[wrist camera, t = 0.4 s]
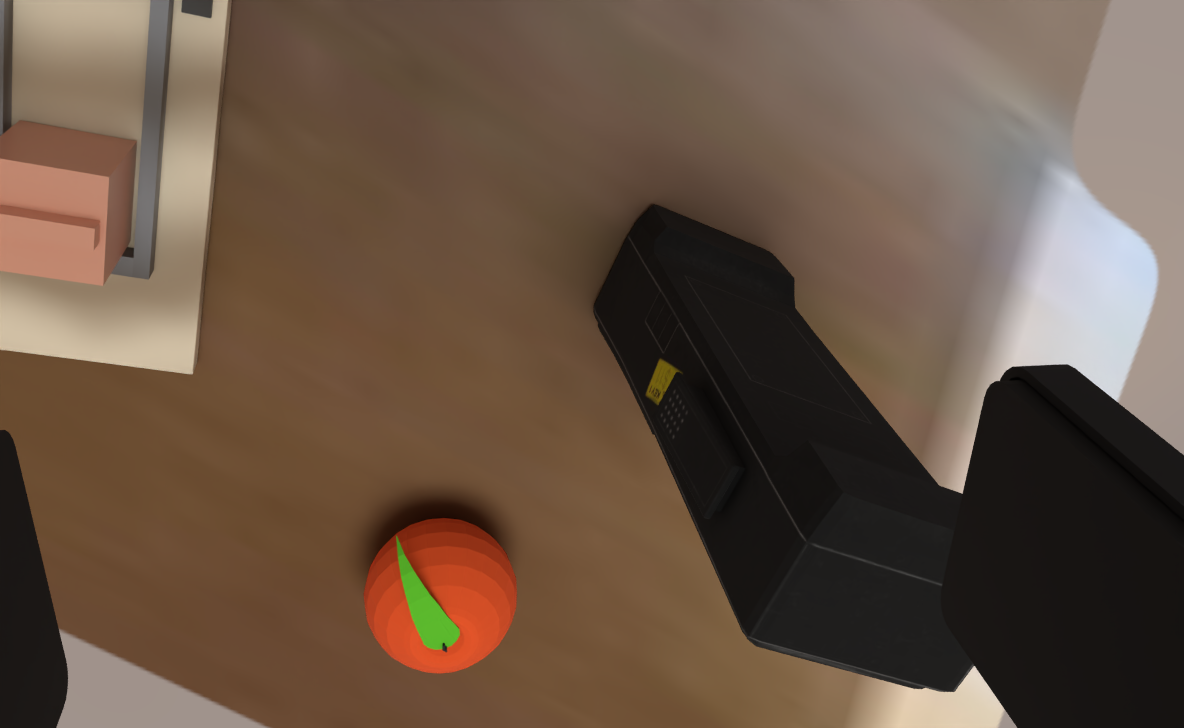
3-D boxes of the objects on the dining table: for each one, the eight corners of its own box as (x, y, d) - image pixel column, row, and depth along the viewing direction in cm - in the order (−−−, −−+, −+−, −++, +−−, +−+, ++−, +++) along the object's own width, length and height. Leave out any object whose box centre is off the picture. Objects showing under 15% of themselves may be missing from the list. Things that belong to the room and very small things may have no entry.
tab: (19, 120, 39) (-31, 161, 34) (137, 141, 40) (103, 184, 35) (17, 223, 41) (-31, 276, 36) (130, 241, 42) (97, 294, 37)
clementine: (327, 509, 50) (318, 608, 44) (462, 449, 50) (473, 540, 44) (406, 625, 54) (408, 732, 48) (532, 570, 54) (550, 670, 47)
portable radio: (564, 312, 47) (712, 741, 26) (622, 190, 45) (839, 543, 23) (716, 367, 50) (970, 800, 28) (778, 254, 48) (1106, 627, 26)
